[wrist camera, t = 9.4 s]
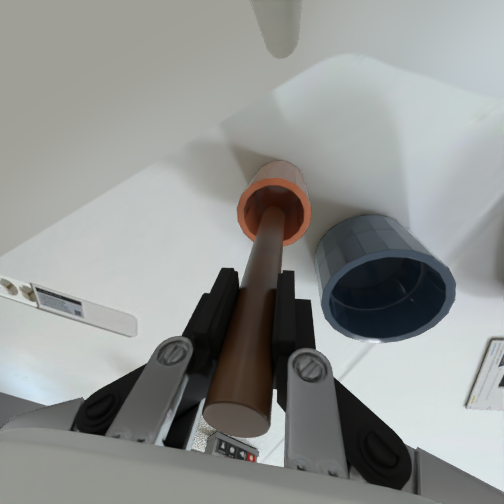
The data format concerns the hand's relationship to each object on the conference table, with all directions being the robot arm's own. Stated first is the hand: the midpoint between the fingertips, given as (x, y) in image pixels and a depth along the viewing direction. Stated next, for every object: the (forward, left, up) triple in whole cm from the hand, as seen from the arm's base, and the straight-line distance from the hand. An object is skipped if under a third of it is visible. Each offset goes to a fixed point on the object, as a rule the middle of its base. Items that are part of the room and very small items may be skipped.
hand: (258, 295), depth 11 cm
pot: (+9, +11, -19) cm, 24 cm away
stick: (0, 0, -11) cm, 11 cm away
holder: (0, 0, -19) cm, 19 cm away
